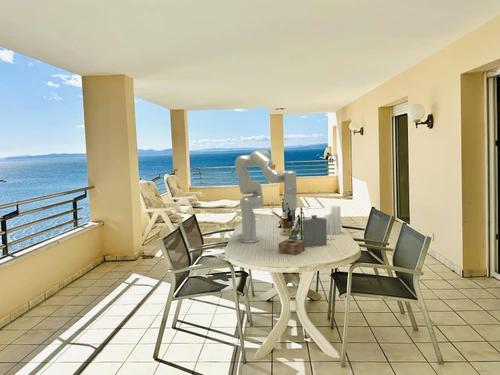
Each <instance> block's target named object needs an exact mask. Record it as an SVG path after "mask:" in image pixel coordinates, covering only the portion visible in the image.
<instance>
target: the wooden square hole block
mask: <svg viewBox="0 0 500 375" xmlns="http://www.w3.org/2000/svg"><path fill="white" fill-rule="evenodd" d="M305 248H306V247H305V241H303V240H299V239H288V238H286V239H285V240H282V241H280V242H279V243H278V253H279V254H287V255H293V256H294V255H295V256H297V255H299V254H301V253H303V252H304V251H306V250H305Z"/></svg>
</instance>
